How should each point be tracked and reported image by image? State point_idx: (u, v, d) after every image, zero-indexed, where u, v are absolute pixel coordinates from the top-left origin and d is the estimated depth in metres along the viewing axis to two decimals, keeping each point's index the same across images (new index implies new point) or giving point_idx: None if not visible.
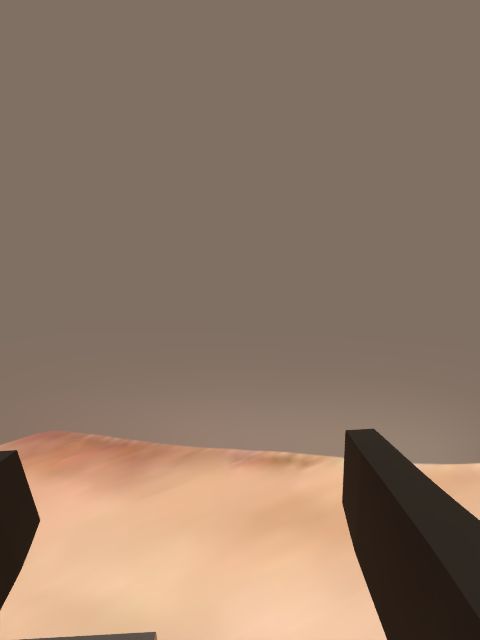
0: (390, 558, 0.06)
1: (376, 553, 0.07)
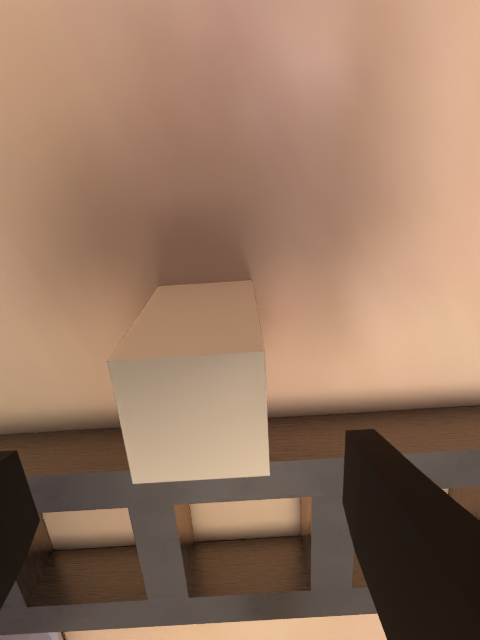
0: (390, 558, 0.06)
1: (376, 553, 0.07)
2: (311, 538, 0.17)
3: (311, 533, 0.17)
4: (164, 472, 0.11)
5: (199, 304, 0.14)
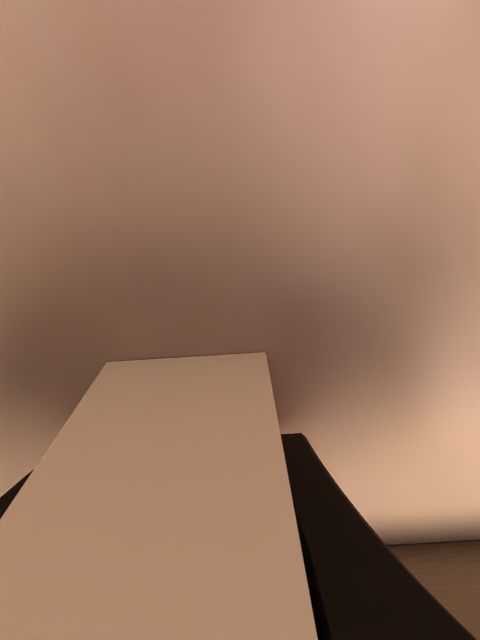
0: None
1: None
2: None
3: None
4: None
5: (168, 426, 0.07)
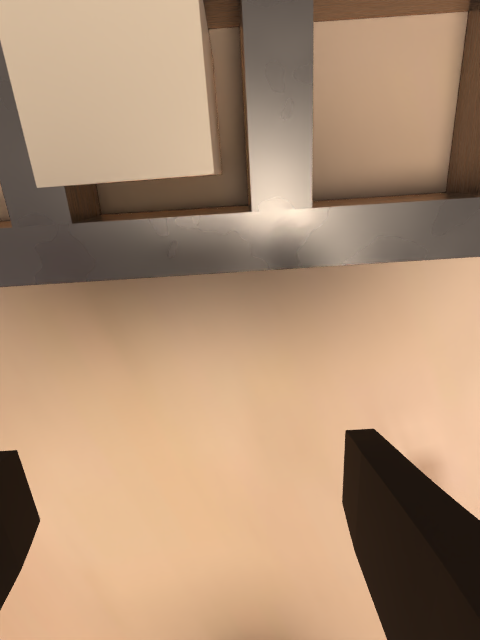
0: (390, 558, 0.06)
1: (376, 553, 0.07)
2: (246, 93, 0.11)
3: (246, 82, 0.11)
4: (76, 168, 0.08)
5: None
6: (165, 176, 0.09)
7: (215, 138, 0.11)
